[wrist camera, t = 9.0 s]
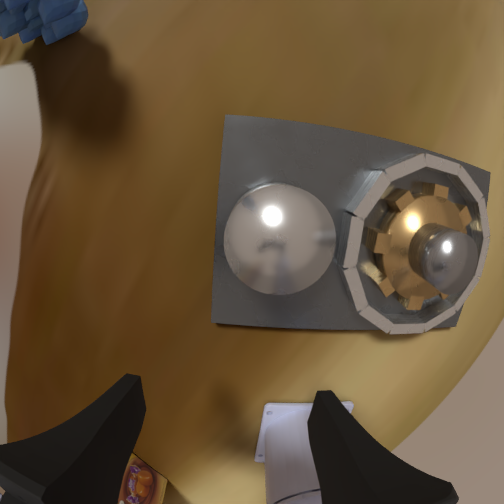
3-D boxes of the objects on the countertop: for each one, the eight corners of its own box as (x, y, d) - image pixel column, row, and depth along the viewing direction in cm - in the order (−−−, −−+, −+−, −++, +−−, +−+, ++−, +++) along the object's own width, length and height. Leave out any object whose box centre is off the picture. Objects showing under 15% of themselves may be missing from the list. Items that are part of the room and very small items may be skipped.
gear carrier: (449, 321, 21) (474, 344, 17) (212, 315, 20) (205, 347, 16) (482, 171, 17) (516, 176, 13) (226, 117, 16) (220, 103, 12)
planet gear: (444, 302, 19) (477, 329, 15) (353, 297, 19) (378, 332, 14) (470, 196, 17) (511, 205, 12) (377, 170, 16) (414, 173, 12)
